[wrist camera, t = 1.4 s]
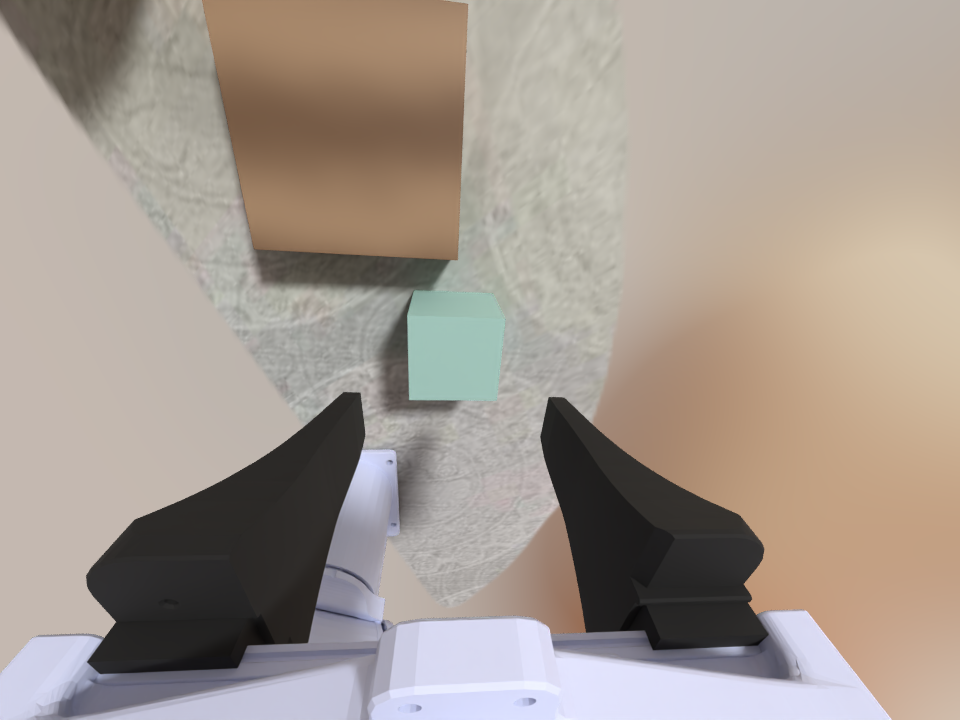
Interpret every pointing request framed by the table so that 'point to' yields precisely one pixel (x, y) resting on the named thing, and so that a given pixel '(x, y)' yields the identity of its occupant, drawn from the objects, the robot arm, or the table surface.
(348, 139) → the walnut base
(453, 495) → the table surface
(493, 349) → the teal cube
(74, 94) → the table surface
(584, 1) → the table surface
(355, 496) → the robot arm
